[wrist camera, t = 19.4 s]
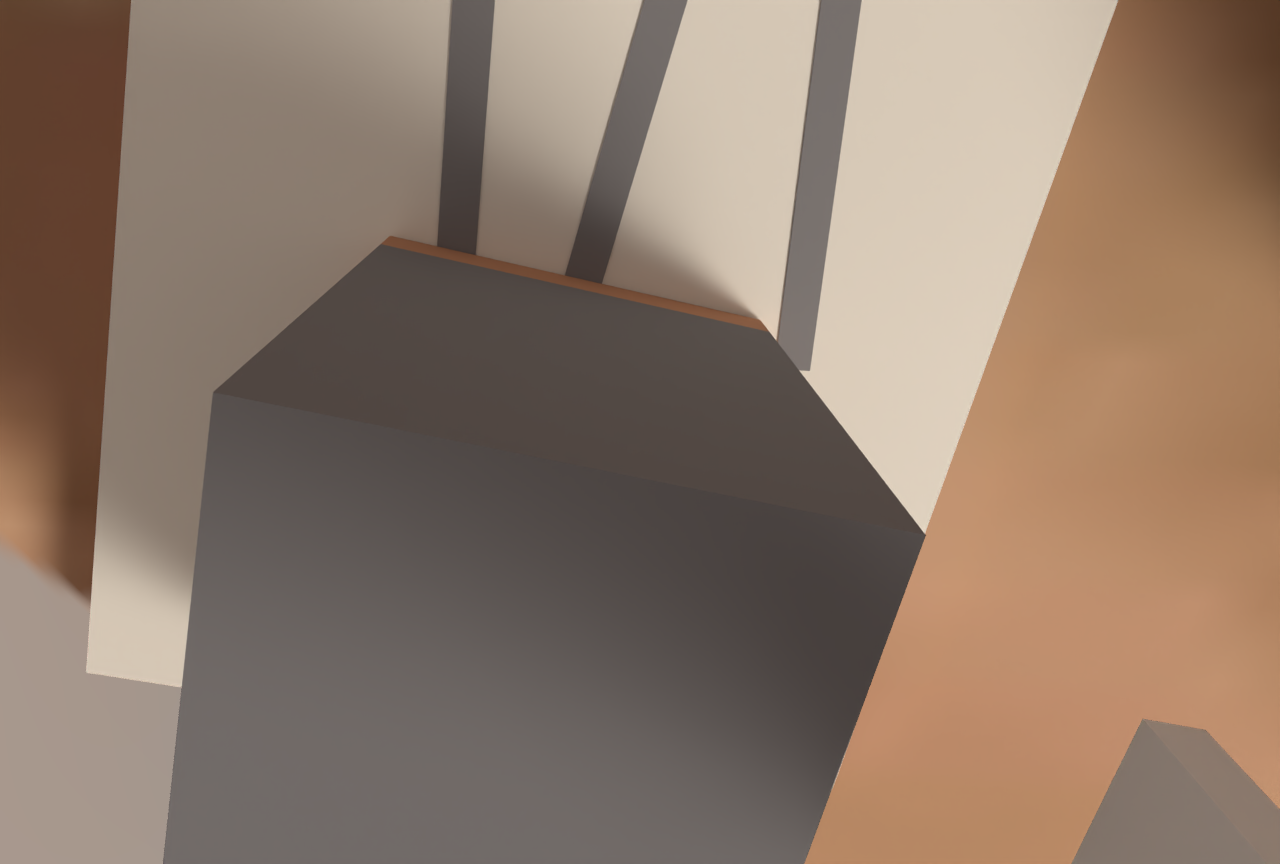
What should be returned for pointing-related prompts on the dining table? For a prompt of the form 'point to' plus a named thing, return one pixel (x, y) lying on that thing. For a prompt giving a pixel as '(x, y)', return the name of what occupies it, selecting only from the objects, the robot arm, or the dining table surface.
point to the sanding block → (524, 582)
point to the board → (569, 205)
